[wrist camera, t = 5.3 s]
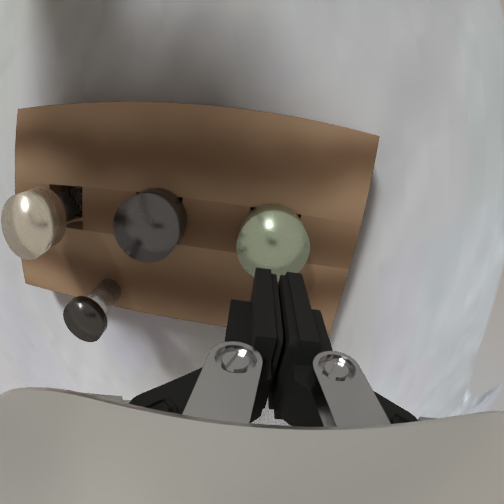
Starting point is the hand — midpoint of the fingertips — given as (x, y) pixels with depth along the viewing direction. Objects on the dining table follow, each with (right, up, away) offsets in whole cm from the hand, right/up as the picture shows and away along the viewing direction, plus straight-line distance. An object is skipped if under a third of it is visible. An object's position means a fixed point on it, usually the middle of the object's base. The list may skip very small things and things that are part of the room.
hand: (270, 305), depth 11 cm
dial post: (-12, -1, +12) cm, 17 cm away
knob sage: (+1, +4, +12) cm, 13 cm away
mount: (-7, +5, +12) cm, 15 cm away
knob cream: (-15, +5, +9) cm, 19 cm away
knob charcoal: (-7, +5, +12) cm, 15 cm away
